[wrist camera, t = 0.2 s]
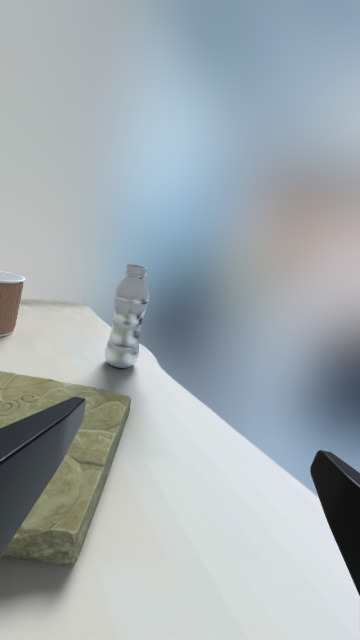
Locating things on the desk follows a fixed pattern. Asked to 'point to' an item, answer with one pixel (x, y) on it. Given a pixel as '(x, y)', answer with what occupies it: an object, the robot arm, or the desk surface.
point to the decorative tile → (64, 465)
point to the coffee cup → (9, 301)
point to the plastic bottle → (128, 318)
